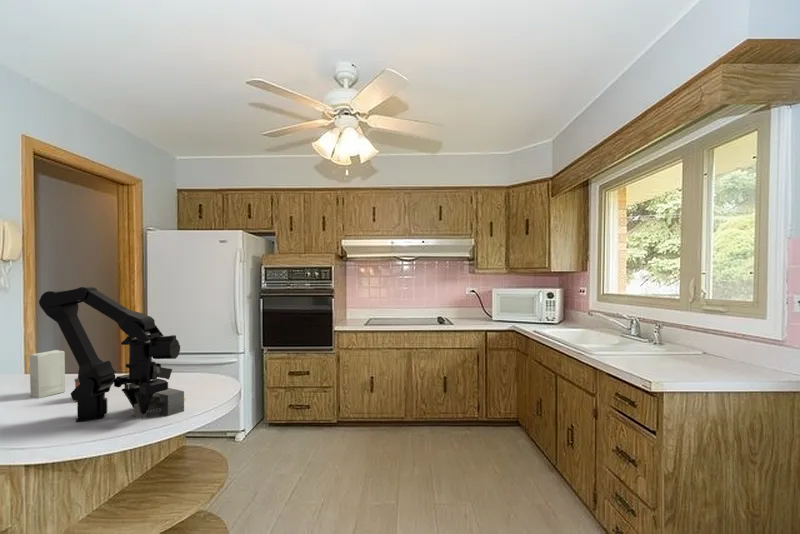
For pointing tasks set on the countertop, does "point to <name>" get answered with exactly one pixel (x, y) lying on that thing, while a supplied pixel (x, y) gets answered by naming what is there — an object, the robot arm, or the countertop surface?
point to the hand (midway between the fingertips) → (140, 412)
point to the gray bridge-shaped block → (169, 401)
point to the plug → (139, 415)
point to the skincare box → (47, 373)
